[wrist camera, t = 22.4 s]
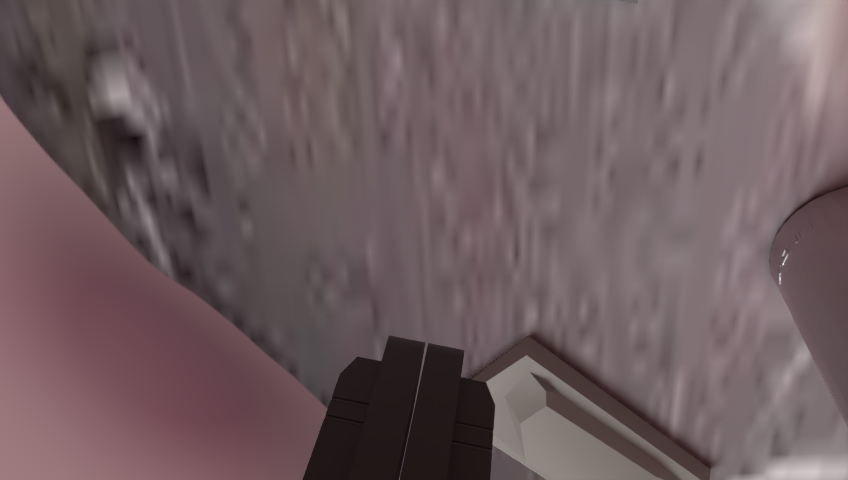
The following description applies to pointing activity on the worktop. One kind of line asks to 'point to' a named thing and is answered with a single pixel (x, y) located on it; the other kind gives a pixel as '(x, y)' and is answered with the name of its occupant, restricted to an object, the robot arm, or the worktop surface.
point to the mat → (633, 0)
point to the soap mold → (575, 424)
